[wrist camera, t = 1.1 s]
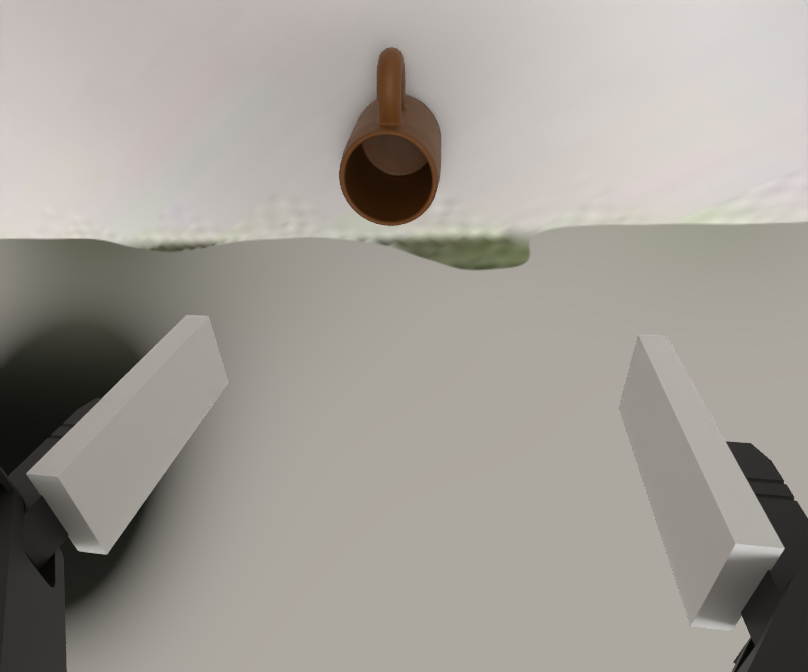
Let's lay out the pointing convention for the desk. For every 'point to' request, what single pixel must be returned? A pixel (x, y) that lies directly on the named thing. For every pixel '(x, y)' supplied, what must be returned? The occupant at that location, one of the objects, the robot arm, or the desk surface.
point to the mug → (392, 152)
